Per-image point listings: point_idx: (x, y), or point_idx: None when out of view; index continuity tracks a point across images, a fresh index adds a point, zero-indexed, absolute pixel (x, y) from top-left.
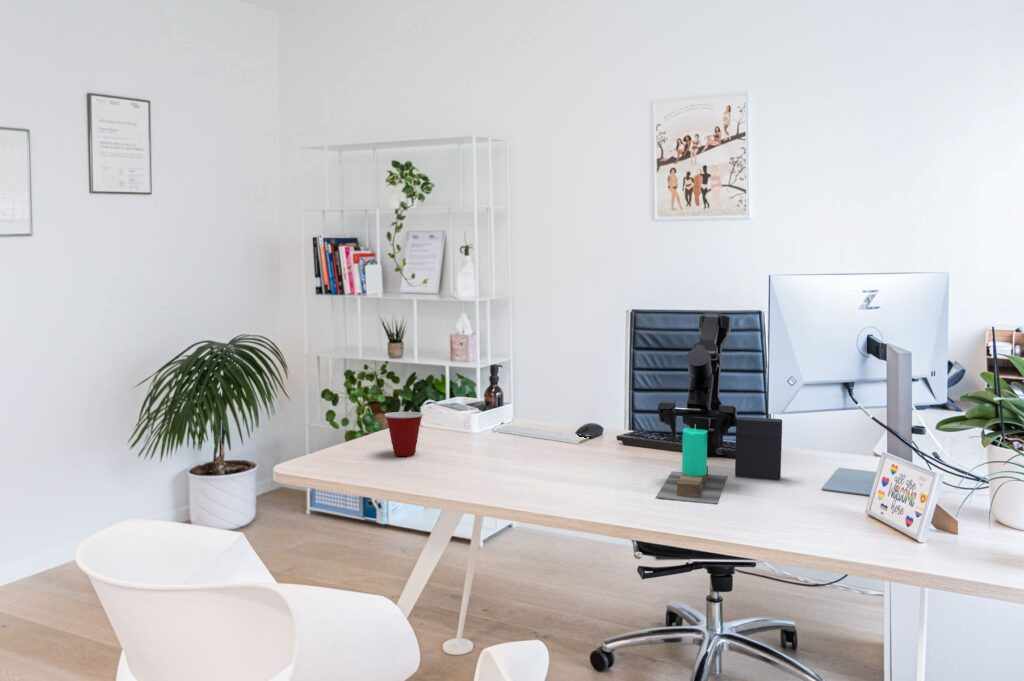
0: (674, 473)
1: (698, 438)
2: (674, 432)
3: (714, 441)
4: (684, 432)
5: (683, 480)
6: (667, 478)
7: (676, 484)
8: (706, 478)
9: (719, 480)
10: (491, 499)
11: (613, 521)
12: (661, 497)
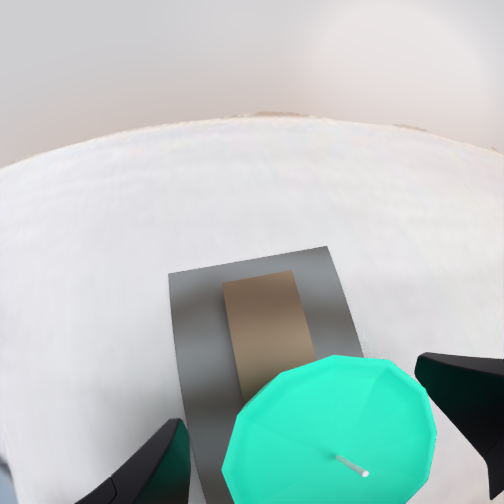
0: None
1: (272, 380)
2: (456, 362)
3: (163, 425)
4: (400, 373)
5: (286, 307)
6: None
7: None
8: None
9: (225, 498)
10: (474, 156)
11: (313, 124)
12: (314, 251)
